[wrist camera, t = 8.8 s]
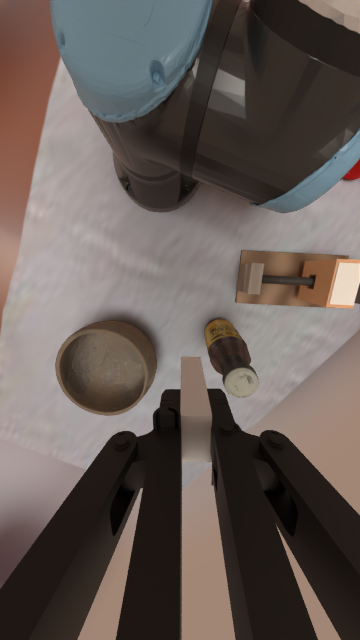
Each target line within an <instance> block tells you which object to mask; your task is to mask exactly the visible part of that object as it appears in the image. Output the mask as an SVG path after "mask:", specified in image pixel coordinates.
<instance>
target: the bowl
mask: <svg viewBox="0 0 360 640" xmlns="http://www.w3.org/2000/svg"><path fill="white" fill-rule="evenodd" d="M55 368H56V375H57V379H58V382H59V384H60V386H61V388H62V390H63V392H64V393H65V394H66V396H67V397H68V398H69V399H70V400H71V401H72V402H73V403H75V404H76V405H77V406H79V407H80V408H82V409H84V410H86V411H88V412H91V413H94V414H99V415H106V416H108V415H118V414H122V413H124V412H126V411H128V410H130V409H131V408H133V407H134V406H135V405H136V404H137V403H138V402H139V401H140V400H141V399H142V398H143V396H144V395H145V394H146V392H147V391H148V389H149V388H150V386H151V384H152V383H153V380H154V377H155V373H156V368H157V360H156V354H155V351H154V349H153V347H152V345H151V343H150V342H149V340H148V339H147V337H146V336H145V335H144V334H143V333H142V332H141V331H140V330H138V329H137V328H135V327H134V326H132V325H130V324H127V323H124V322H119V321H103V322H98V323H94V324H90V325H88V326H86V327H83V328H82V329H80V330H78V331H76V332H75V333H74V334H72V335H71V336H70V337H69V338H68V339H67V340H66V341H65V342H64V343H63V345H62V346H61V348H60V350H59V352H58V355H57V358H56V364H55Z"/></svg>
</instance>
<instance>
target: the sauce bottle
mask: <svg viewBox="0 0 360 640" xmlns="http://www.w3.org/2000/svg"><path fill="white" fill-rule="evenodd" d="M205 340H206V345H207V349H208V354H209V357H210V362H211V364H212V366H213V367H214V369H215V370H216V371H217V372H218V373H220V374H222V375H223V384H224V386H225V389H226V391H227V392H228V393H229V394H231V395H232V396H234V397H238V398H240V397H248V396H250V395H251V394H252V393H254V392H255V391H256V389H257V387H258V384H259V382H258V376H257V374H256V372H255V370H254V369H253V368H252V367H251V366H250V365H249V364H250V362H251V358H250V355H249V352H248V348H247V345H246V343H245V341H244V340H243V339H242V337H241V336H240V335H239V333H238V332H237V330H236V329H235V328H234V327H233V325H232V324H231V323H230V322H228V321H226V320H224V319H216V320H213V321H211V322H210V323H209V324H208V325H207V327H206V329H205Z"/></svg>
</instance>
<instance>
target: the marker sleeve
mask: <svg viewBox="0 0 360 640" xmlns="http://www.w3.org/2000/svg"><path fill="white" fill-rule="evenodd" d="M302 277H310V278H316V279H315V284H314V286H303V285H300V289H299V295H298V300H301V301H305V302H308V303H312V304H316V305H320V306H324V307H335V308H353V305H354V302H355V298H356V295H357V291H358V287H359V284H360V260H350V259H328V260H314V261H305V264H304V269H303V274H302Z"/></svg>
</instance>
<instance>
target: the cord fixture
mask: <svg viewBox="0 0 360 640" xmlns="http://www.w3.org/2000/svg"><path fill="white" fill-rule="evenodd" d="M348 257H349V256H342V255H323V254H303V253H284V252H265V251H246V250H242V251H241V258H240V267H239V275H238V283H237V292H236V300H235V302H236V303H250V304H269V305H288V306H307V307H324V306H320V305H316V304H312V303H308V302H305V301H301V300H298V295H299V289H300V285H303V286H314V284H315V279H316V278H310V277H302V274H303V269H304V264H305V261H314V260H328V259H348ZM354 303H358V304H360V284H359V287H358V291H357V295H356V298H355V302H354ZM326 308H335V307H326Z"/></svg>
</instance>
